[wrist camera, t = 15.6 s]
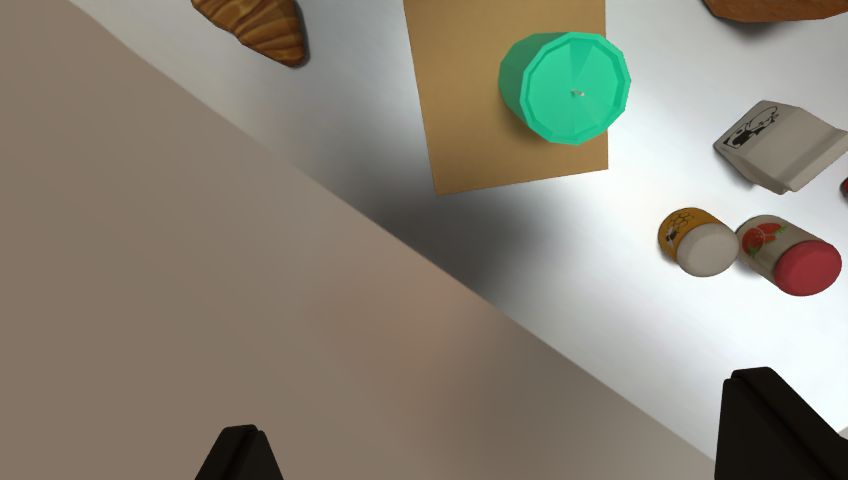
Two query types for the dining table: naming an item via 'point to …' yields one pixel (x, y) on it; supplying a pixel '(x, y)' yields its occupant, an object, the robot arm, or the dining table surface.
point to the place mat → (490, 90)
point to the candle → (565, 84)
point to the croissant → (259, 26)
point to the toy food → (766, 235)
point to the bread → (776, 9)
